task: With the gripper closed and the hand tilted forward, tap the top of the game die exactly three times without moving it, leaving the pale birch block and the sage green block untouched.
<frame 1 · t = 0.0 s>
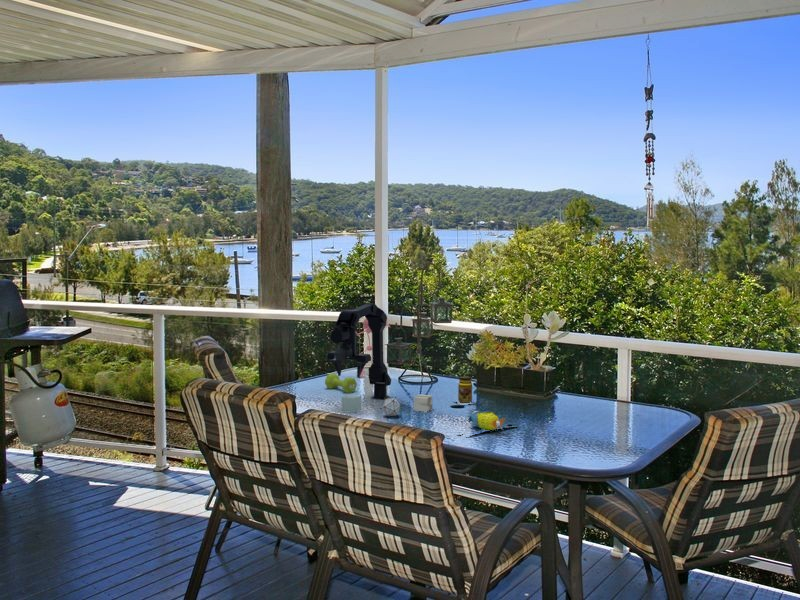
hand: (348, 376, 317), 15 cm above the table, tool pointing down, fingers open, 9 cm apart
sage block: (351, 410, 321), on the table
birch block: (423, 410, 321), on the table
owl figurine: (486, 432, 290), on the table
dumbbell: (340, 391, 359), on the table
condiment: (464, 403, 334), on the table
pink tall part: (372, 377, 391), on the table
game die: (391, 417, 310), on the table
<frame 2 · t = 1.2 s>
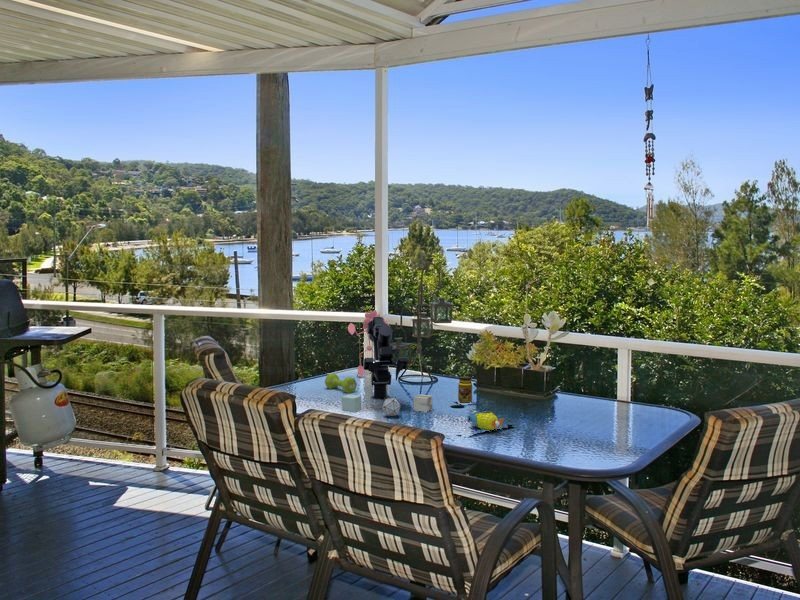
hand: (387, 380, 317), 13 cm above the table, tool tilted 45°, fingers open, 8 cm apart
nothing on the table moved.
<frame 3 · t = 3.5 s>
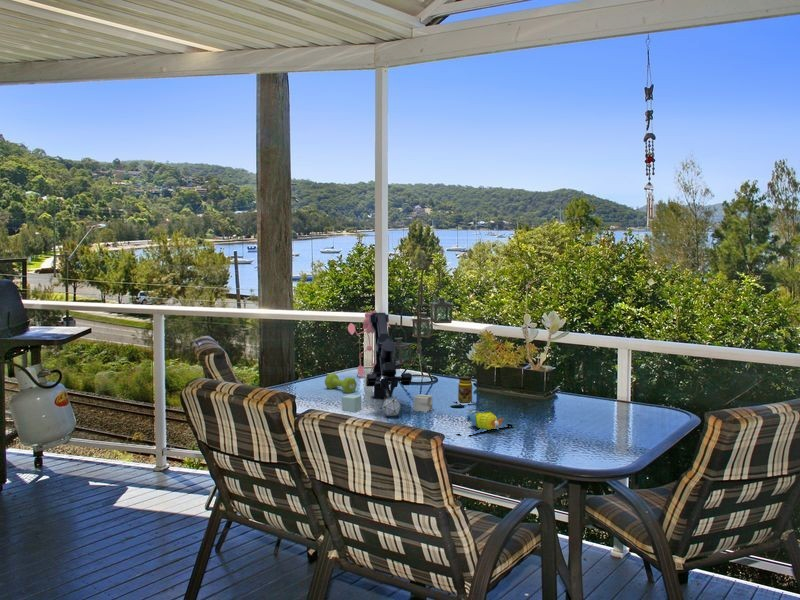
hand: (390, 396, 309), 8 cm above the table, tool tilted 45°, fingers closed, pressing on game die
game die: (391, 416, 310), on the table, touching gripper
everything else where it was.
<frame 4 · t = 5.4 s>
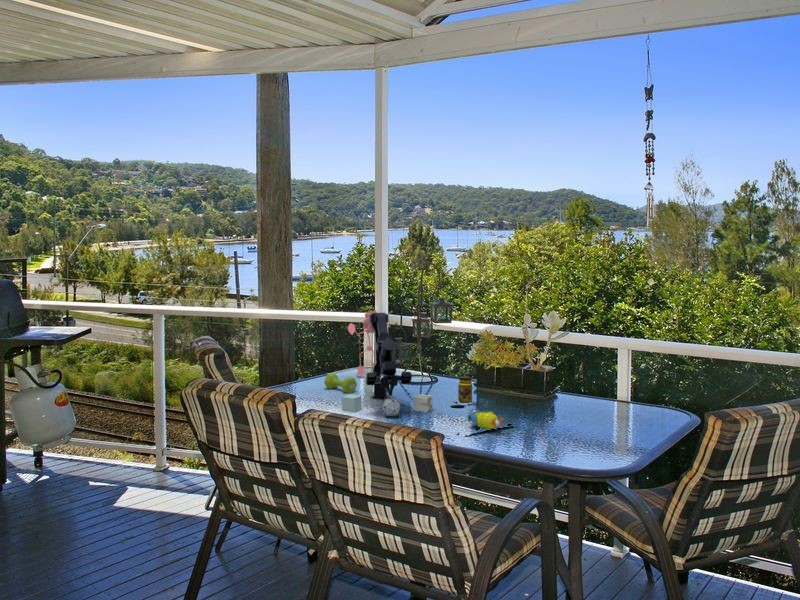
hand: (390, 395, 309), 9 cm above the table, tool tilted 45°, fingers closed
game die: (391, 417, 310), on the table
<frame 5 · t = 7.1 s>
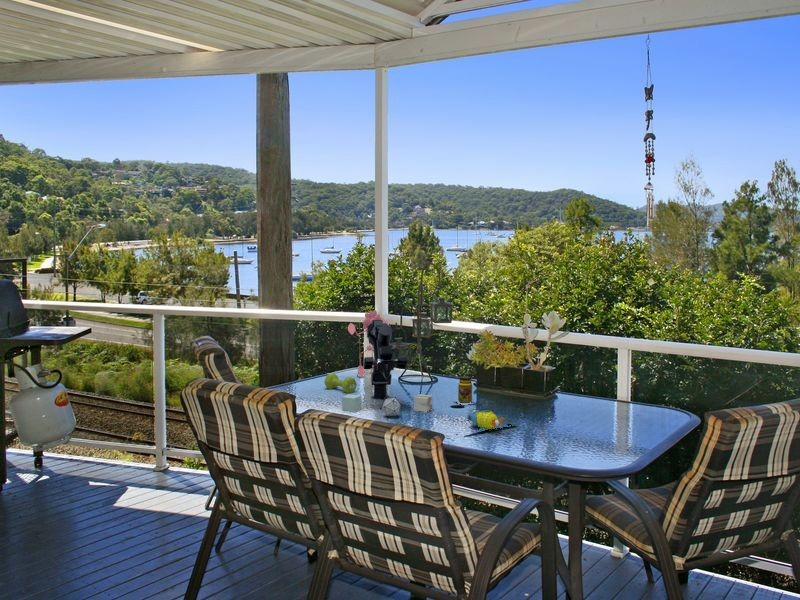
hand: (387, 379, 319), 13 cm above the table, tool tilted 45°, fingers closed
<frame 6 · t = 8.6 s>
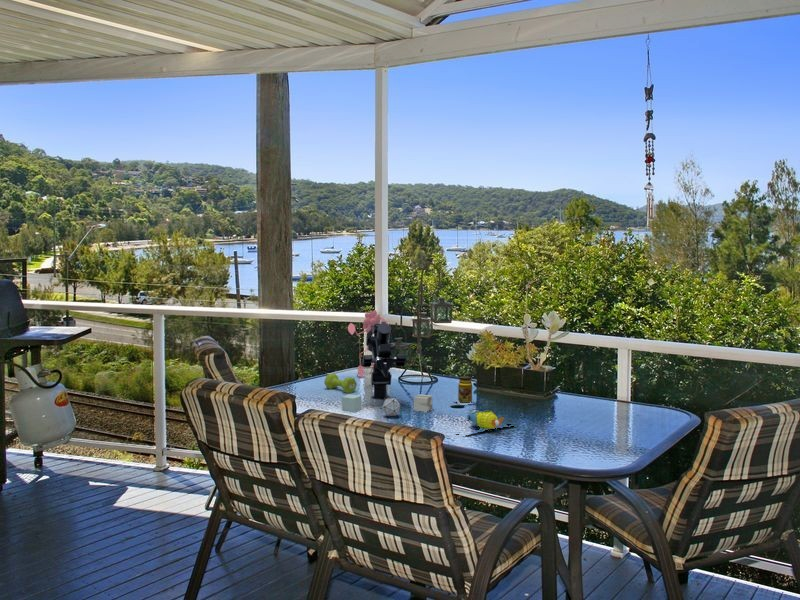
hand: (386, 376, 323), 14 cm above the table, tool tilted 45°, fingers closed
at the end: game die moved 0.2 cm from its start; game die tilted 0°; sage block moved 0.1 cm from its start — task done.
